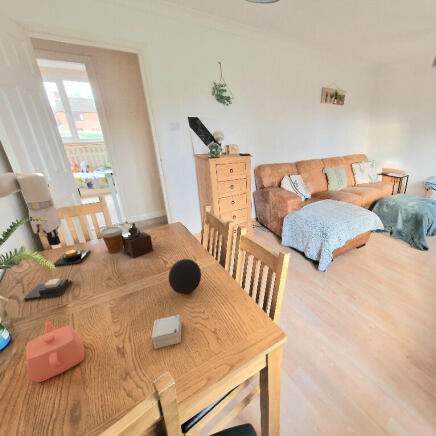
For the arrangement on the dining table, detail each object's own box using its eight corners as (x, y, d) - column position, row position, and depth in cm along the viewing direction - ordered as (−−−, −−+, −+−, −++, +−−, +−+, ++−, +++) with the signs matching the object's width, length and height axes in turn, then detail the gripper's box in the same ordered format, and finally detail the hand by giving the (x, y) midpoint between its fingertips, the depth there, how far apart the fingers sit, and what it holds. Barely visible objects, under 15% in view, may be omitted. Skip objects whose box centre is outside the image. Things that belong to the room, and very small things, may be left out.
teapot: (33, 399, 61) (17, 371, 57) (31, 353, 72) (18, 327, 68) (90, 369, 69) (79, 343, 65) (80, 331, 80) (71, 307, 76)
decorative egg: (186, 279, 109) (182, 250, 103) (208, 286, 105) (205, 257, 99) (164, 295, 98) (158, 264, 92) (188, 304, 94) (183, 272, 88)
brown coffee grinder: (122, 252, 126) (114, 221, 120) (144, 244, 135) (138, 215, 128) (137, 262, 119) (129, 229, 112) (159, 253, 127) (153, 222, 120)
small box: (157, 330, 82) (154, 319, 80) (182, 325, 85) (180, 313, 83) (153, 349, 75) (151, 337, 73) (181, 343, 78) (179, 331, 76)
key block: (53, 266, 112) (51, 261, 111) (67, 253, 123) (65, 249, 122) (79, 263, 115) (77, 259, 114) (90, 251, 126) (88, 247, 125)
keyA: (45, 288, 94) (44, 285, 94) (50, 283, 98) (49, 279, 97) (56, 287, 96) (55, 283, 95) (61, 281, 99) (60, 278, 98)
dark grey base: (24, 301, 91) (21, 294, 90) (39, 286, 99) (37, 280, 98) (60, 296, 95) (57, 290, 93) (71, 282, 103) (69, 276, 101)
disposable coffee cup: (101, 255, 123) (95, 234, 118) (110, 246, 131) (104, 226, 127) (122, 254, 125) (117, 233, 121) (129, 245, 134) (125, 225, 129)
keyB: (64, 257, 116) (63, 254, 115) (68, 253, 119) (67, 250, 119) (74, 256, 117) (73, 253, 116) (78, 252, 120) (77, 249, 120)
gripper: (41, 199, 102) (55, 237, 109) (15, 211, 89) (32, 253, 96) (62, 198, 104) (74, 236, 111) (40, 210, 91) (55, 252, 98)
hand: (55, 244), depth 103 cm, fingers closed
